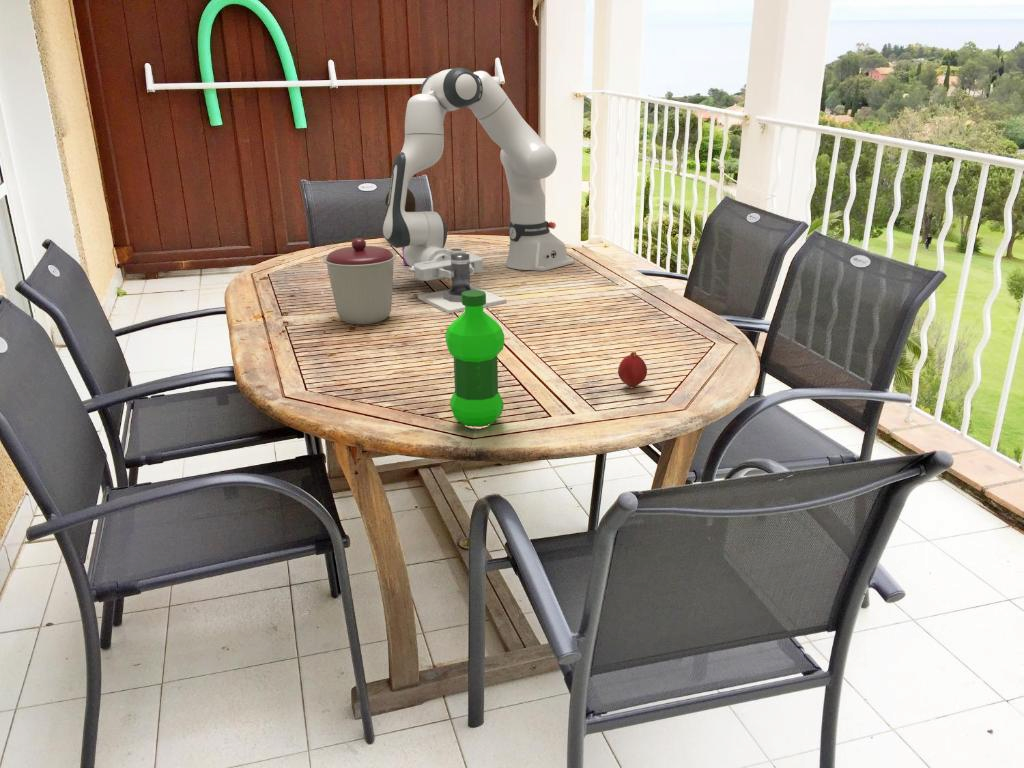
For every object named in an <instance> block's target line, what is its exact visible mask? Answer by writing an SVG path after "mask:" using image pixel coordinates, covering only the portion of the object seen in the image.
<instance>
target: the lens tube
mask: <svg viewBox="0 0 1024 768" xmlns="http://www.w3.org/2000/svg"><path fill="white" fill-rule="evenodd" d="M467 253H468V252H466V253H454V254H451V271H454V278H451V289H452V295H458V296H461V293H462V292H464V291H469V290H470V286H471V275H470V264H469V263H470V258H469V254H467Z"/></svg>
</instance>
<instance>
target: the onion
mask: <svg viewBox="0 0 1024 768" xmlns="http://www.w3.org/2000/svg"><path fill="white" fill-rule="evenodd" d="M617 370H618V371H617V374H618V377H619V378H620V381H621V382H622V383H624V385H626V386H627V387H628V386H629V387H635V388H636V387H638V386H639V385H640V384H641V383H642V382H644V380H645V379H646V378H647V376H648V375H647V374H648V368H647V365H646V363H645V361H644V360H643V358H642V357H641V356H639V355H638V354H637V351H634V350H633V351H631V352H630V354H628V355H627V356H625V357H624V358H623V359H622V360H621V361H620V363H619V365H618V369H617ZM629 387H628V388H629Z"/></svg>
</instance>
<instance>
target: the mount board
mask: <svg viewBox="0 0 1024 768" xmlns="http://www.w3.org/2000/svg"><path fill="white" fill-rule="evenodd" d="M470 290H480V291H484V292H485V293H486V304H484V305H483V308H487V307H486V306H488V307H493V306H497V305H502V304H503V305H504V304H507V298H504V297H501V296H499V295H497V294H494V293H492V292H489V291H487V290H486V289H485V290H484V289H482V288H479V287H477V286H476V285H473V284H472V285H470ZM417 299H418V300H419V301H422V302H424V303H426V304H427V305H430V306H432V307H434V306H435V307H434V308H436V307H437V308H436V309H438V308H439V309H438V310H440V309H441V310H440V311H442V310H443V311H442V312H444V311H445V312H444V313H446V312H447V313H446V314H448V313H452V314H455V313H454V312H458V313H460V312H459V311H463V312H465V311H464V310H465V306H464V305H463V304H462V297H461V296H458V295H452V288H447V289H445V290H439V291H434V292H429V293H423V294H418V295H417ZM492 305H493V306H492Z"/></svg>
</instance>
